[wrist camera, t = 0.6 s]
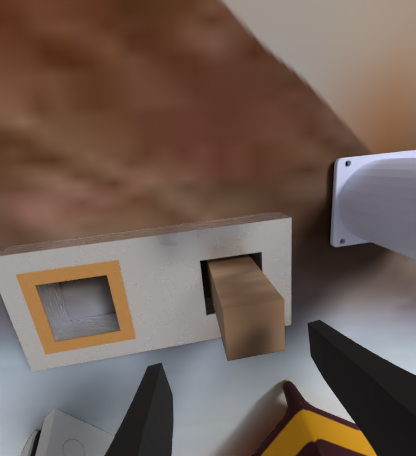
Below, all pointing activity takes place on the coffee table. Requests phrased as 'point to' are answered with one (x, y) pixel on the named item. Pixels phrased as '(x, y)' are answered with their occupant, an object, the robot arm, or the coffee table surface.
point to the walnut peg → (246, 307)
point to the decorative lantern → (312, 432)
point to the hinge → (67, 438)
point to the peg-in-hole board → (134, 286)
